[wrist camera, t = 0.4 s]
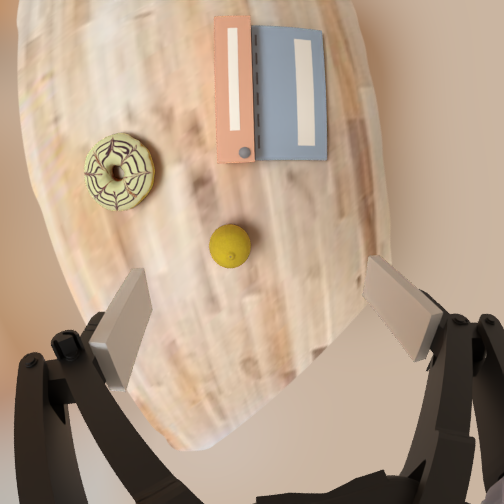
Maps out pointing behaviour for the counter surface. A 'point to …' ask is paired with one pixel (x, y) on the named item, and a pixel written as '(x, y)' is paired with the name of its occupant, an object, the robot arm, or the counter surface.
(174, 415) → the counter surface
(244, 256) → the lemon
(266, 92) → the board
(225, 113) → the pink rectangular bar
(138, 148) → the decorated donut
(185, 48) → the counter surface
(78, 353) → the robot arm
